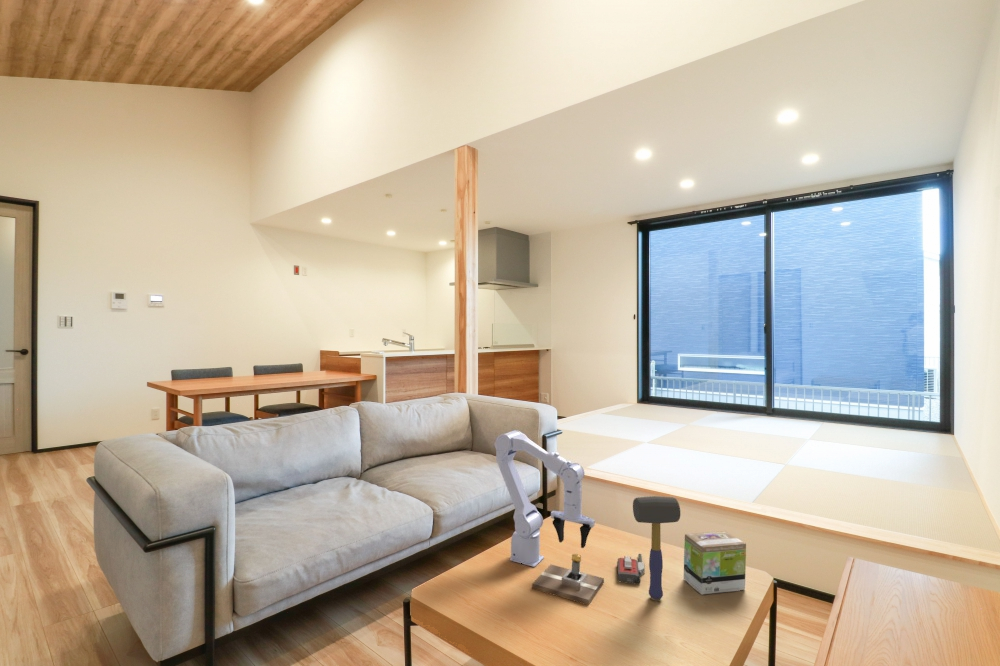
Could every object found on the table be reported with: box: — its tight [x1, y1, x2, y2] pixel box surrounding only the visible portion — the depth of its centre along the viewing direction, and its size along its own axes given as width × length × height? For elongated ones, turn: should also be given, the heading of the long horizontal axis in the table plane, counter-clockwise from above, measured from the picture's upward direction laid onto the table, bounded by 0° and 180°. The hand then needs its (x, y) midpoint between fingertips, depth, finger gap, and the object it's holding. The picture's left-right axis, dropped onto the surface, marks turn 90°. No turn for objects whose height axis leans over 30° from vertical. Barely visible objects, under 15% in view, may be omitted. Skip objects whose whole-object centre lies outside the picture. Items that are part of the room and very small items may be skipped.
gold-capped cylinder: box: [571, 553, 582, 581], centre depth 150 cm, size 3×3×8 cm
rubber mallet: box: [632, 495, 681, 602], centre depth 143 cm, size 12×8×30 cm, turn 91°
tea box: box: [683, 530, 747, 596], centre depth 151 cm, size 15×10×15 cm, turn 102°
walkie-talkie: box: [616, 553, 646, 585], centre depth 161 cm, size 9×4×20 cm
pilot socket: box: [562, 569, 588, 590], centre depth 149 cm, size 6×6×2 cm
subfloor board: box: [531, 564, 605, 606], centre depth 150 cm, size 18×14×2 cm
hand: (572, 544), depth 158 cm, fingers open, 7 cm apart
